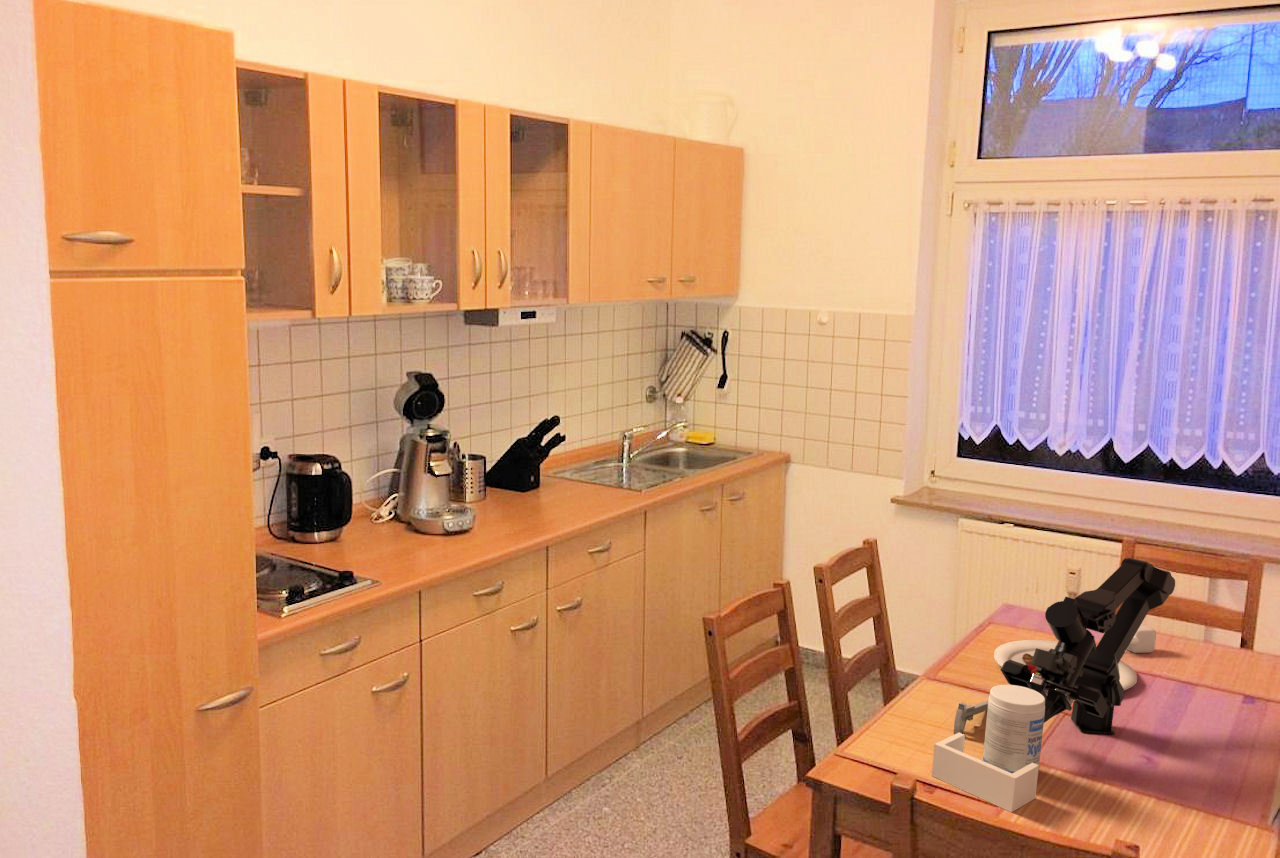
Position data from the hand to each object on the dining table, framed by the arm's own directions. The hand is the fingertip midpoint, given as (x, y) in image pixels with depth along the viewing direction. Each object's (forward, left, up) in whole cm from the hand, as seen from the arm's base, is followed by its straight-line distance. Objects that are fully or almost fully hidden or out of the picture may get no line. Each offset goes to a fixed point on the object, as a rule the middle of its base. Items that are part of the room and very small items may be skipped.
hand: (1033, 726), depth 193 cm
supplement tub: (+5, +5, -7) cm, 10 cm away
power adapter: (-41, -62, -7) cm, 75 cm away
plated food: (-21, -47, -7) cm, 51 cm away
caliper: (+5, -17, -7) cm, 19 cm away
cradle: (+11, +11, -7) cm, 17 cm away
